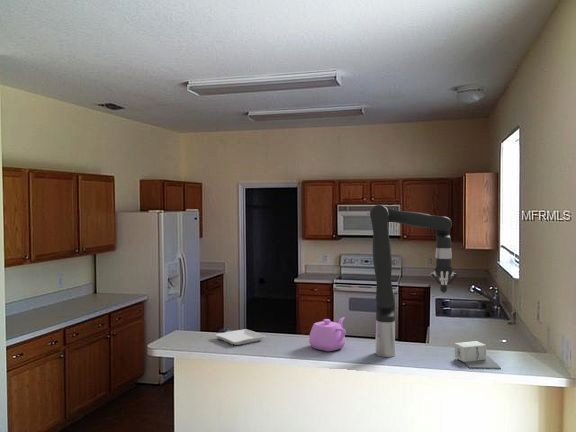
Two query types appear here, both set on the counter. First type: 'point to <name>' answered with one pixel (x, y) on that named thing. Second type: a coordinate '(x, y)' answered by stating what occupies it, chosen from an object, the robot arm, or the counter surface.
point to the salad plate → (240, 336)
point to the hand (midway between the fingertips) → (443, 292)
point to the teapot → (327, 335)
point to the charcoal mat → (483, 364)
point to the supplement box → (470, 351)
